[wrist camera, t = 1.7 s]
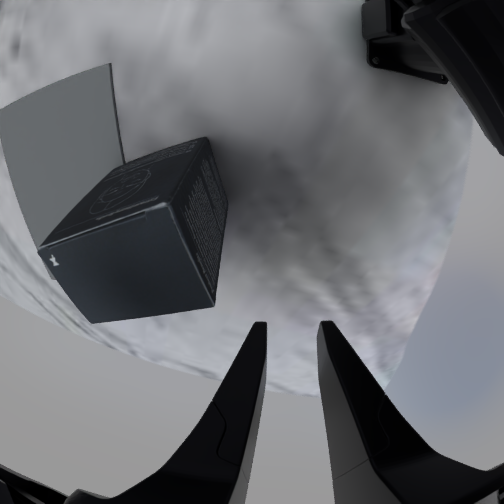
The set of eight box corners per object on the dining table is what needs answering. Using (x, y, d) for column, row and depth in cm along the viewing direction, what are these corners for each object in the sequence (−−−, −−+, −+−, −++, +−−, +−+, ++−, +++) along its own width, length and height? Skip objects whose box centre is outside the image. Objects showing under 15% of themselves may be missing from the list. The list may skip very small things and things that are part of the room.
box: (141, 228, 22) (89, 327, 14) (113, 167, 19) (32, 247, 11) (231, 205, 21) (217, 311, 13) (208, 134, 18) (166, 201, 9)
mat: (110, 63, 15) (108, 63, 14) (155, 283, 26) (154, 285, 26) (-3, 111, 15) (-5, 112, 15) (52, 277, 27) (51, 279, 27)
